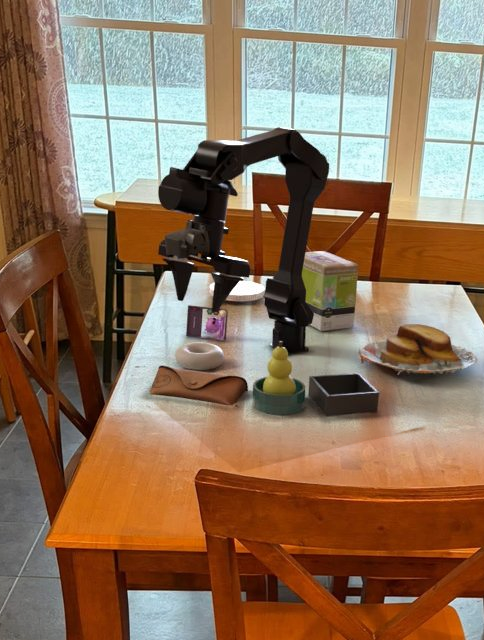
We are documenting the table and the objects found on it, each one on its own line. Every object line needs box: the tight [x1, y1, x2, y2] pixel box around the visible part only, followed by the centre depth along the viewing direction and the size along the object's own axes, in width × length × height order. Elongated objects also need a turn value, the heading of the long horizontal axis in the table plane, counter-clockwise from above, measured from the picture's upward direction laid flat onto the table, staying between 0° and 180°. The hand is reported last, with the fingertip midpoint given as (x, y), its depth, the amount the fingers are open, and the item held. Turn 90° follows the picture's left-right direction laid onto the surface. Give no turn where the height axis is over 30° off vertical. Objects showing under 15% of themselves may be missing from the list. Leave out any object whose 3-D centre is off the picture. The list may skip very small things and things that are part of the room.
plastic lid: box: [209, 280, 266, 302], centre depth 211 cm, size 14×14×2 cm
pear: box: [263, 341, 296, 395], centre depth 150 cm, size 6×6×12 cm
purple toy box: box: [185, 304, 229, 342], centre depth 184 cm, size 7×5×9 cm
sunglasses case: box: [149, 365, 249, 407], centre depth 155 cm, size 18×7×7 cm, turn 81°
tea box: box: [302, 250, 359, 332], centre depth 196 cm, size 15×10×15 cm, turn 34°
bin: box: [307, 372, 380, 417], centre depth 155 cm, size 10×10×5 cm
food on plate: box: [358, 323, 478, 376], centre depth 177 cm, size 25×25×7 cm
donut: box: [174, 341, 225, 371], centre depth 169 cm, size 10×4×10 cm
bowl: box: [252, 376, 307, 416], centre depth 152 cm, size 10×10×4 cm
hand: (197, 306), depth 155 cm, fingers open, 9 cm apart
